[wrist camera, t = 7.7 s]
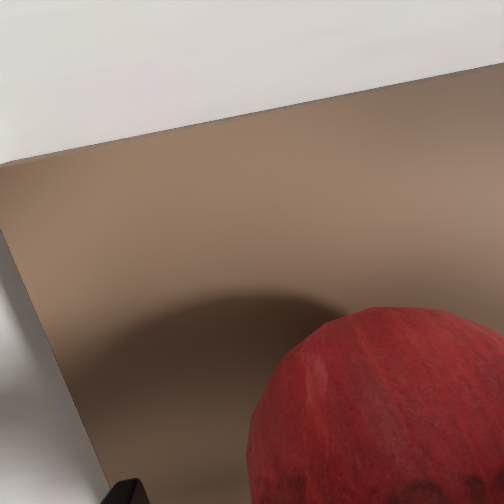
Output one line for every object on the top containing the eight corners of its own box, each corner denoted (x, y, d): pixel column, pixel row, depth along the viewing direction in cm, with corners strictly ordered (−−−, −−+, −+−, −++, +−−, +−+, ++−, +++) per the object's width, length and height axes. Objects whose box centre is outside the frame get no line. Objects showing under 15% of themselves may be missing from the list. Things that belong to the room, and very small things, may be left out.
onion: (211, 410, 12) (181, 996, 4) (292, 215, 10) (501, 642, 2) (401, 458, 13) (654, 1003, 5) (507, 290, 11) (1149, 760, 3)
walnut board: (551, 433, 14) (586, 470, 13) (145, 507, 15) (137, 551, 13) (585, 46, 10) (642, 39, 9) (10, 161, 10) (-24, 172, 9)
